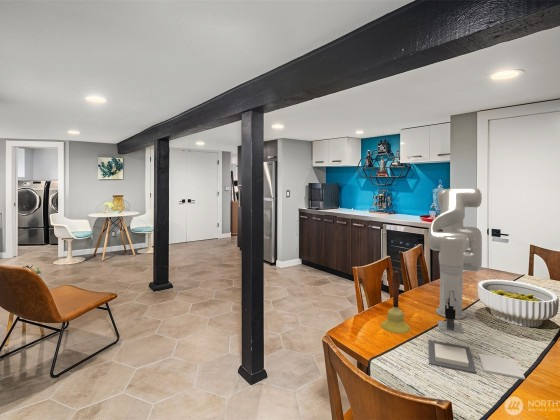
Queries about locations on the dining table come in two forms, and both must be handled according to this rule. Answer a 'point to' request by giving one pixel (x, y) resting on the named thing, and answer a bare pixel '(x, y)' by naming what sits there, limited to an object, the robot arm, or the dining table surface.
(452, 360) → the tile
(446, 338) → the dining table surface
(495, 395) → the dining table surface
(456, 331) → the post on square base
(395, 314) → the handbell
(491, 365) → the pad
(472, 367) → the tile mat
